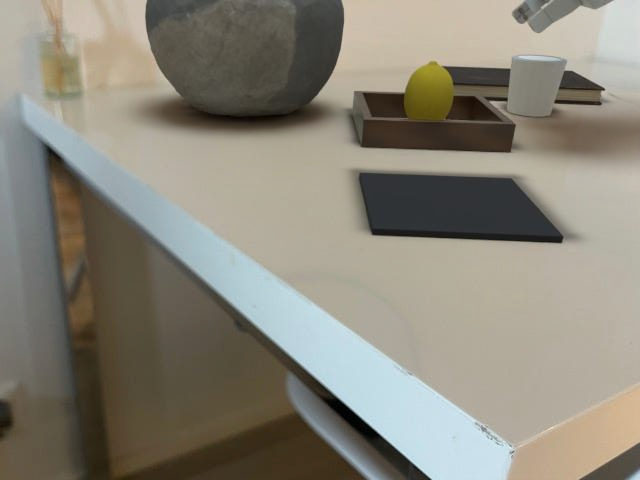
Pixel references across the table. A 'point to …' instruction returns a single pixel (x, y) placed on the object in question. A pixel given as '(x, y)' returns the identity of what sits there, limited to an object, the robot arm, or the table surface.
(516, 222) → the pad
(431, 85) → the lemon
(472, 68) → the hardcover book
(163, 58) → the bowl
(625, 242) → the table surface
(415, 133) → the tray
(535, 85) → the white cup
